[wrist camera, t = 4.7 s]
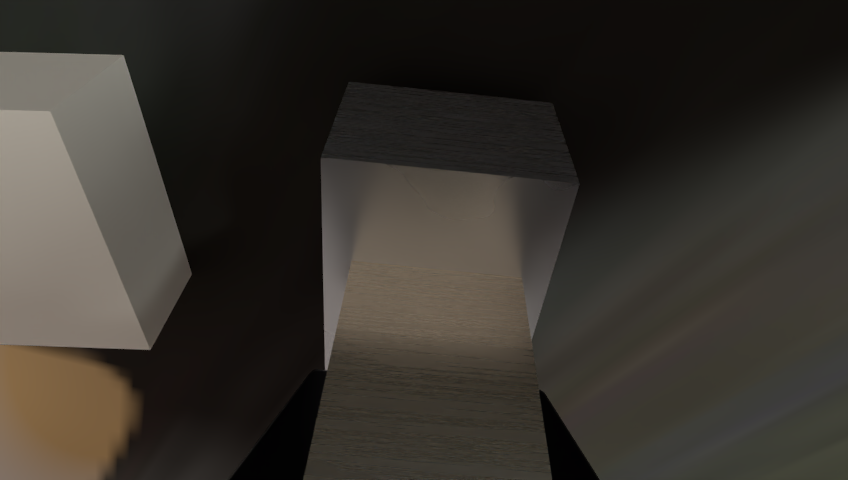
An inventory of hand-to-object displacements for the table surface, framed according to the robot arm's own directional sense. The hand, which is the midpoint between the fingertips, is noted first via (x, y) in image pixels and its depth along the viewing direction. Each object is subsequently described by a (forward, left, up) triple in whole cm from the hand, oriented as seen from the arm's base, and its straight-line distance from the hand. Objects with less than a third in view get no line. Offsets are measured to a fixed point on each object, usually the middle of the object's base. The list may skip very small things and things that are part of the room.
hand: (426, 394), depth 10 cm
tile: (+10, 0, -6) cm, 11 cm away
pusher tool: (0, 0, -4) cm, 4 cm away
